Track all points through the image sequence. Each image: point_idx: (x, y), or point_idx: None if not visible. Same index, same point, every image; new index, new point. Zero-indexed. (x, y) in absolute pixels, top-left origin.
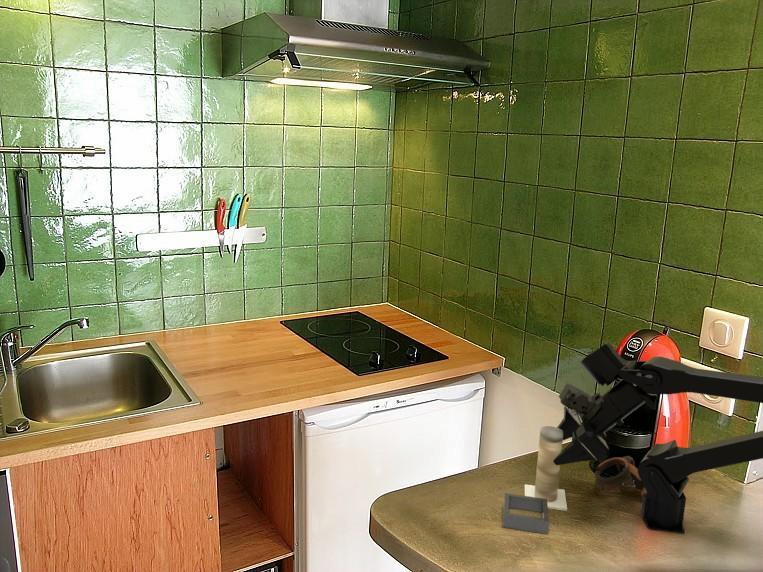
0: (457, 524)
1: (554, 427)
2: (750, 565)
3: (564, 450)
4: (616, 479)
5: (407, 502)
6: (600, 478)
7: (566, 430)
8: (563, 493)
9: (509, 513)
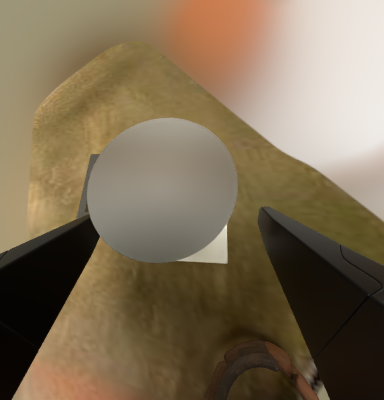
0: (106, 115)
1: (224, 203)
2: None
3: (19, 249)
4: None
5: (145, 62)
6: (234, 366)
7: (315, 300)
8: (212, 259)
9: (95, 161)
